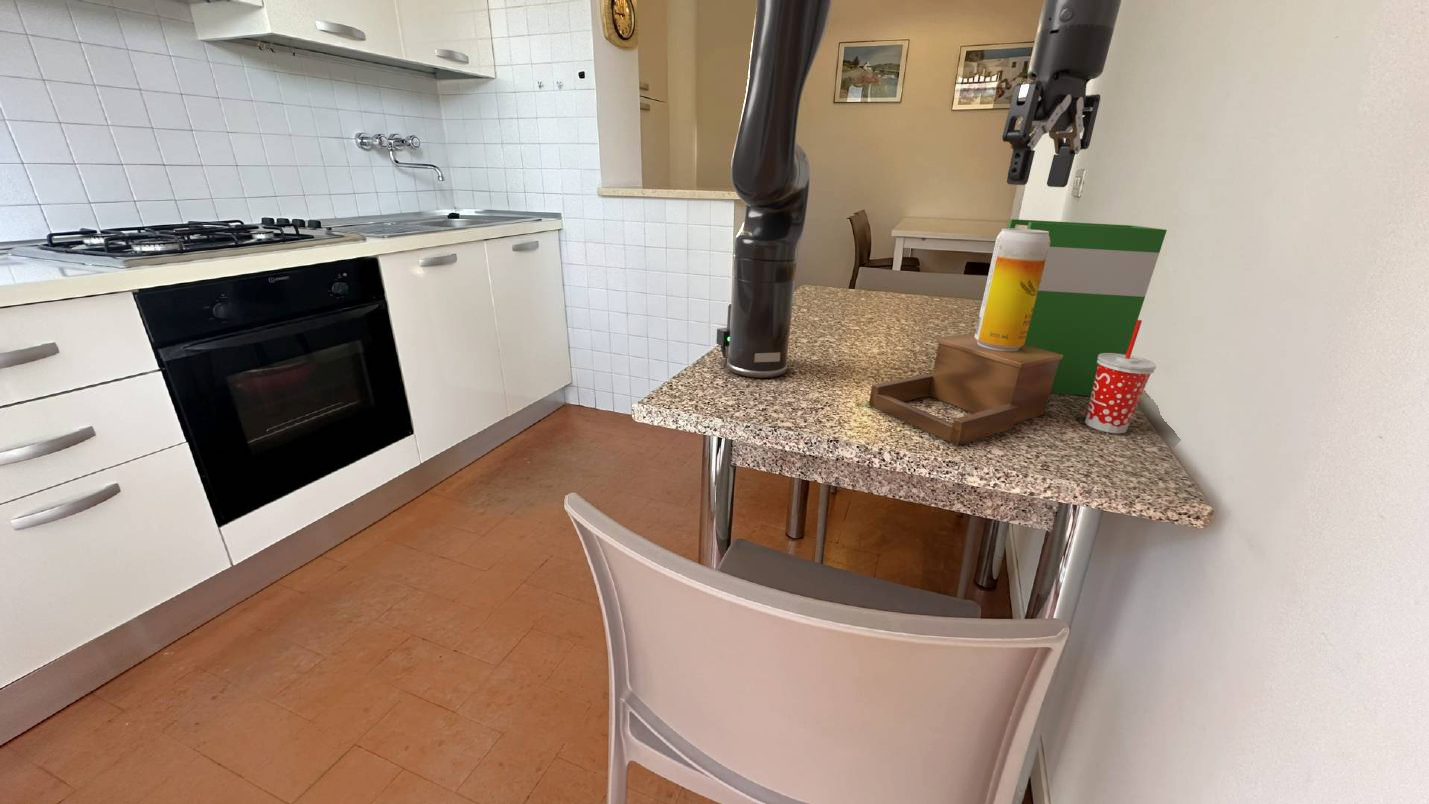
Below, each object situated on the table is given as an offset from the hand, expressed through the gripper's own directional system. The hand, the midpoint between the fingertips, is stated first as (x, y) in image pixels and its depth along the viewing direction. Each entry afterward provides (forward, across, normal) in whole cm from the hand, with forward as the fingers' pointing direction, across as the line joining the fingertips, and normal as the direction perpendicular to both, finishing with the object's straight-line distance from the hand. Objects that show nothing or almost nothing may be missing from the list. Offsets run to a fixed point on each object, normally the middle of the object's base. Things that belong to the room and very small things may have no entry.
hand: (1036, 185), depth 69 cm
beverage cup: (+29, -8, +12) cm, 32 cm away
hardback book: (+29, -16, -1) cm, 33 cm away
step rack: (+29, +4, 0) cm, 29 cm away
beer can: (+20, 0, 0) cm, 20 cm away
